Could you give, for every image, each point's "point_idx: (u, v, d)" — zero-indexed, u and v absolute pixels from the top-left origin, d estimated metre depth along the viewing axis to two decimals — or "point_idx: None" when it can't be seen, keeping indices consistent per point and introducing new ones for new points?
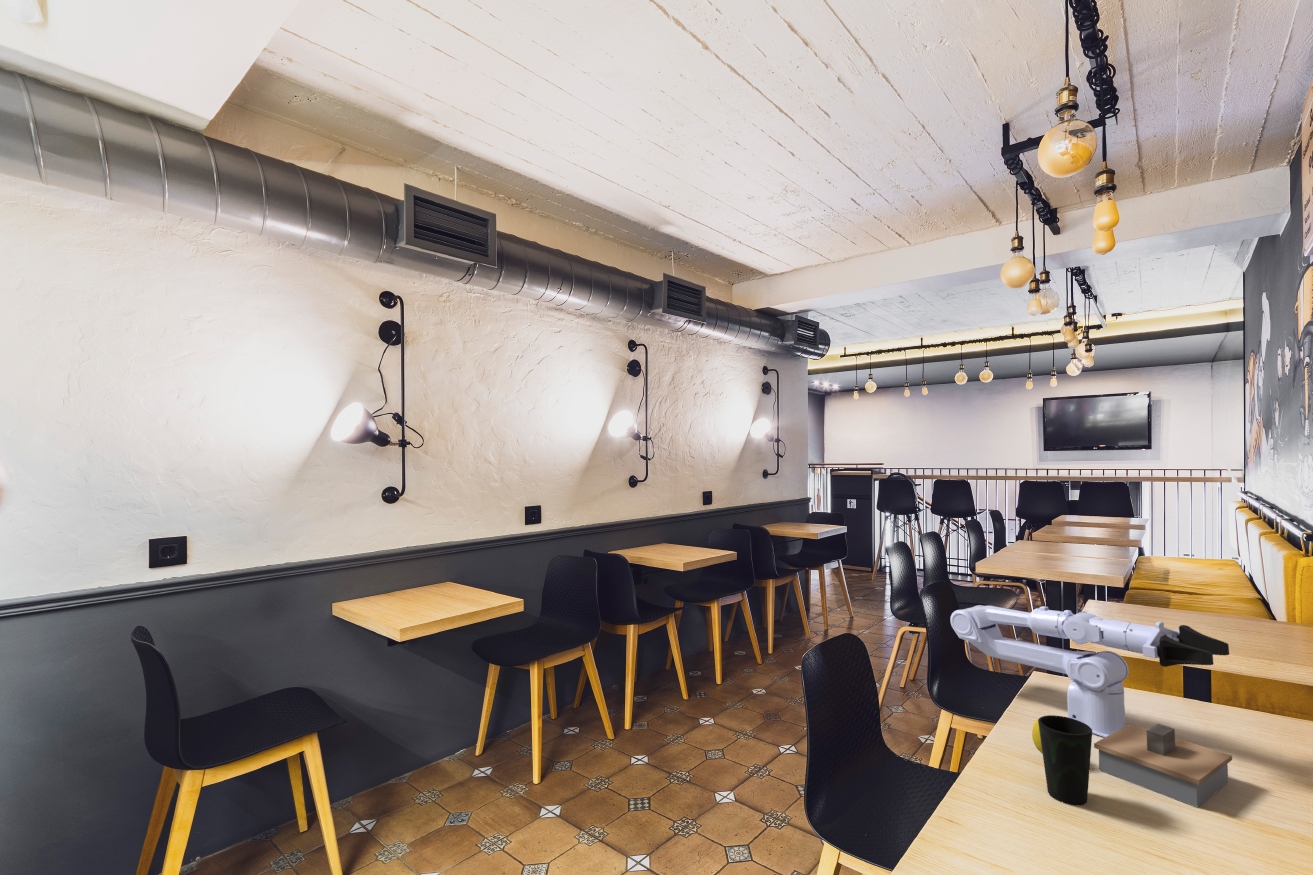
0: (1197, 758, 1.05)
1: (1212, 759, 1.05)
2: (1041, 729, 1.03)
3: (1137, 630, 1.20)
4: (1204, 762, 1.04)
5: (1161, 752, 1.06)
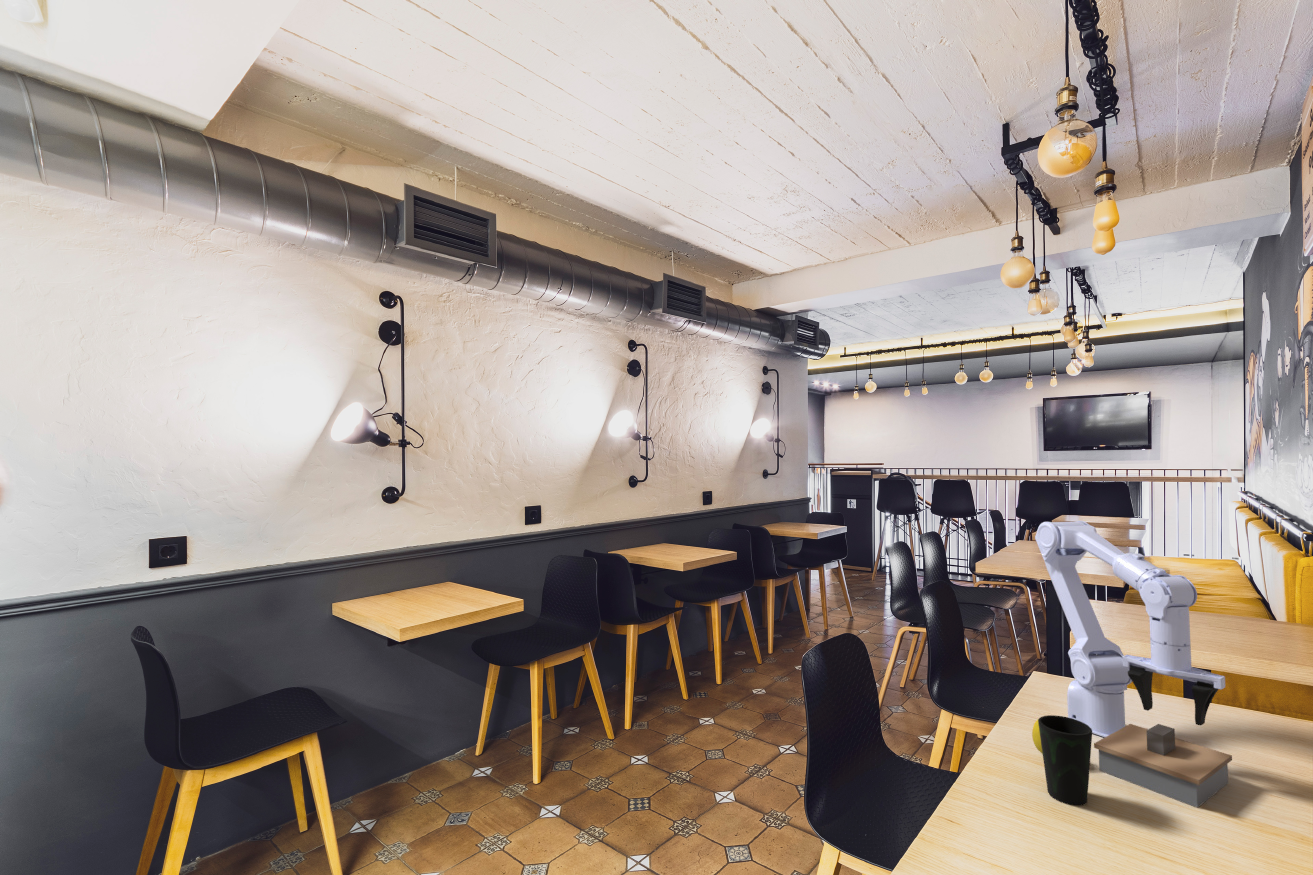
0: (1197, 758, 1.05)
1: (1212, 759, 1.05)
2: (1041, 729, 1.03)
3: (1153, 650, 1.12)
4: (1204, 762, 1.04)
5: (1161, 752, 1.06)
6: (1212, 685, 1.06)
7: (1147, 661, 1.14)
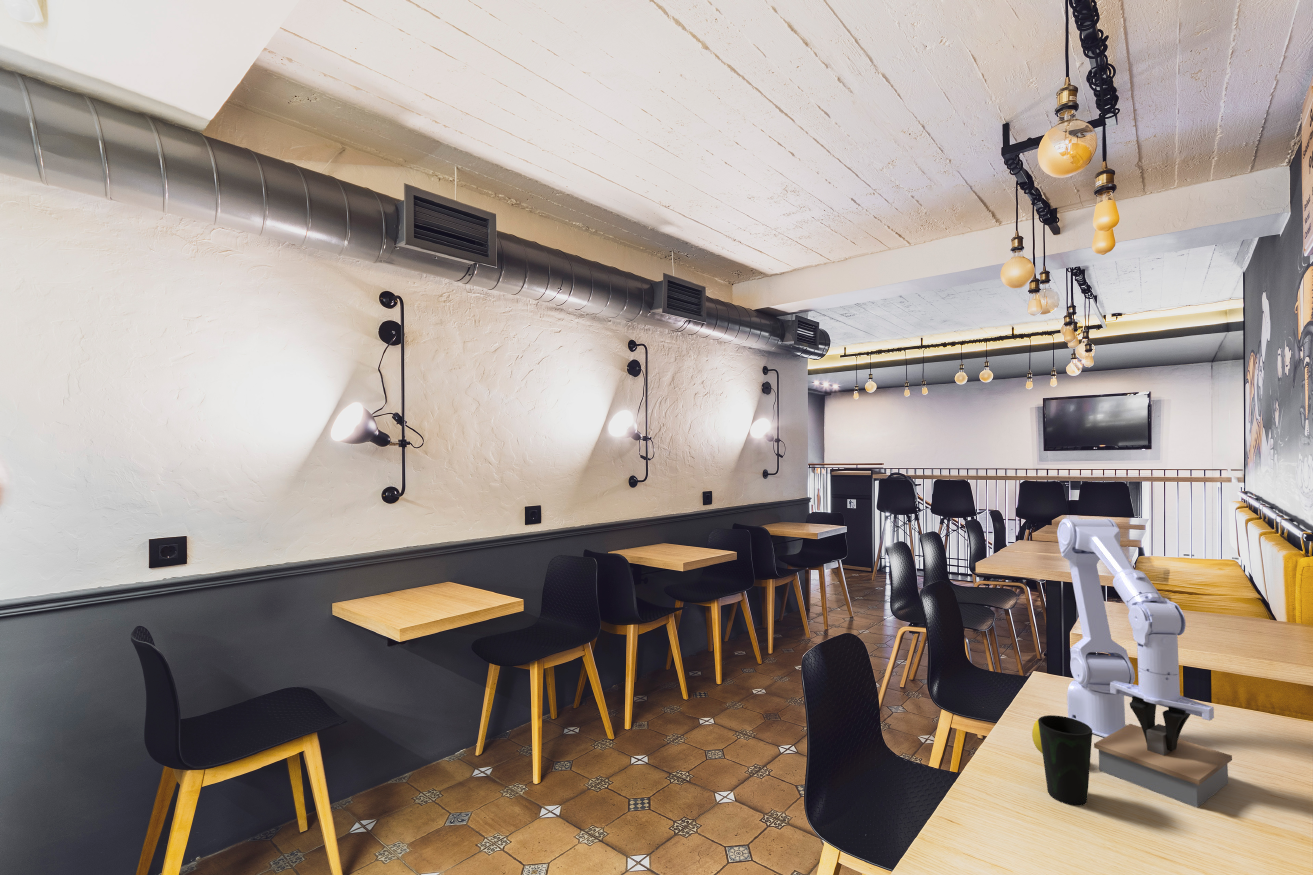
0: (1197, 758, 1.05)
1: (1212, 759, 1.05)
2: (1041, 729, 1.03)
3: (1141, 678, 1.09)
4: (1204, 762, 1.04)
5: (1161, 752, 1.06)
6: (1183, 711, 1.05)
7: (1135, 688, 1.12)
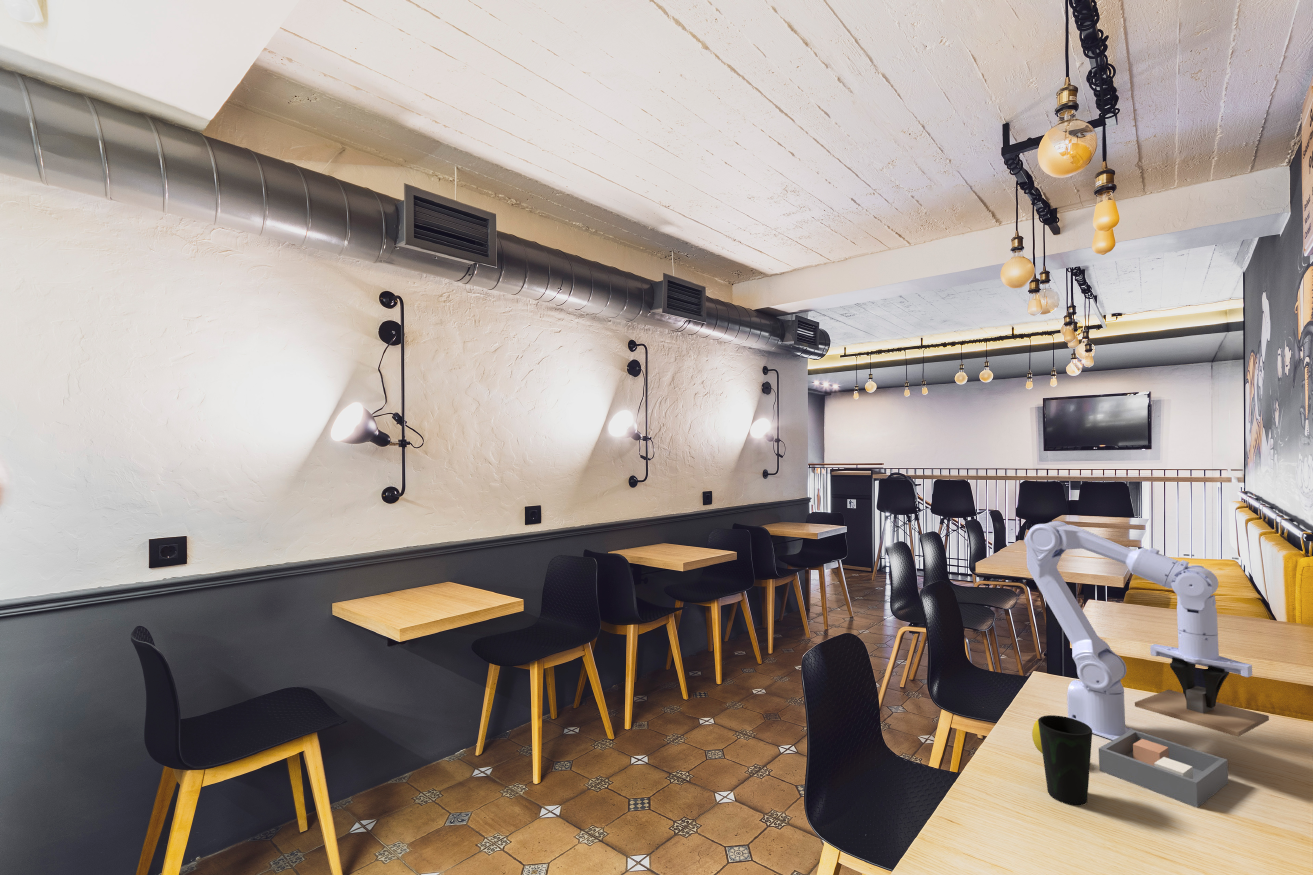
0: (1235, 716, 1.11)
1: (1250, 717, 1.10)
2: (1041, 729, 1.03)
3: (1181, 639, 1.15)
4: (1242, 719, 1.09)
5: (1200, 710, 1.12)
6: (1222, 669, 1.11)
7: (1175, 650, 1.18)
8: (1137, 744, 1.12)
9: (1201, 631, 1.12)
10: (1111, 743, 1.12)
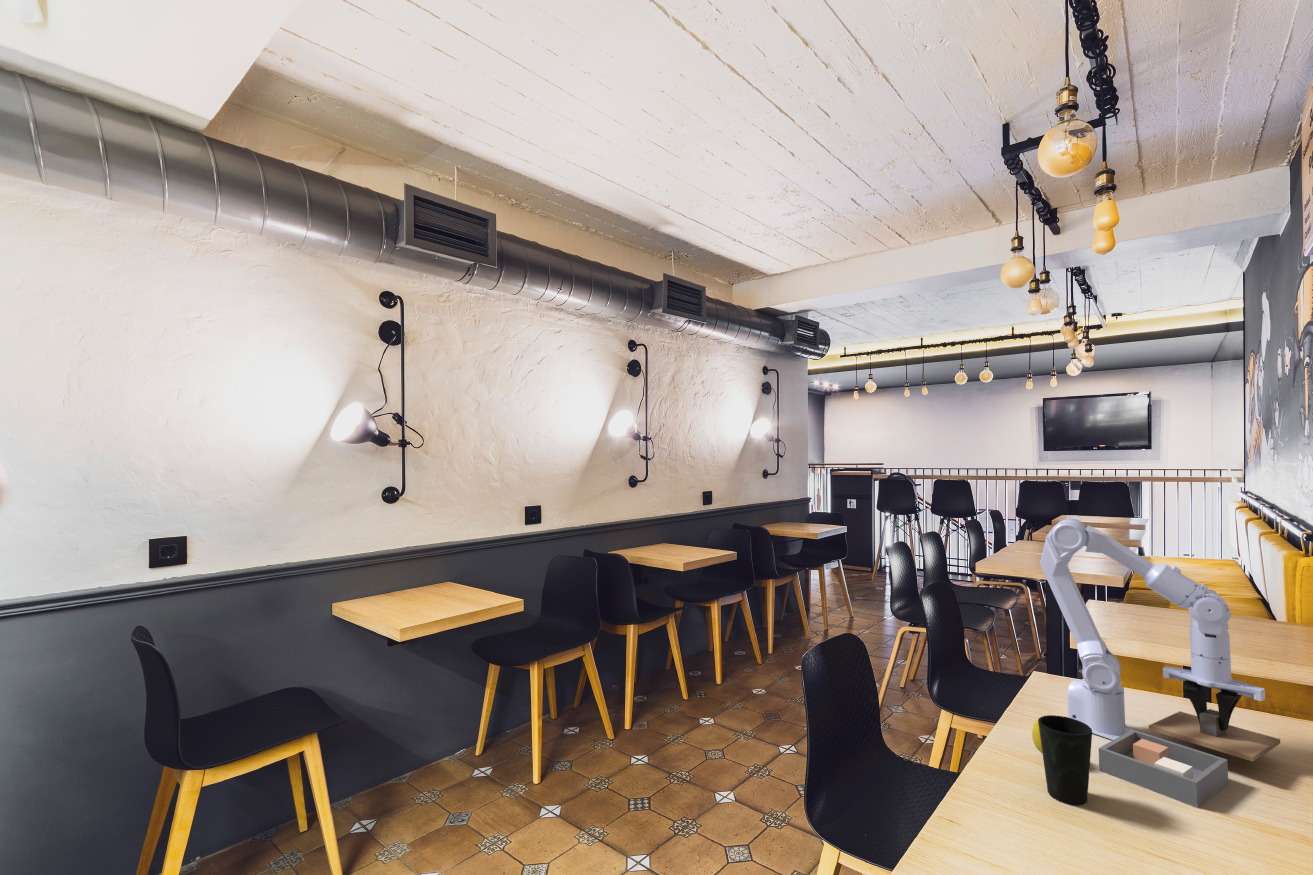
0: (1248, 740, 1.12)
1: (1262, 741, 1.12)
2: (1041, 729, 1.03)
3: (1194, 663, 1.17)
4: (1255, 743, 1.11)
5: (1214, 734, 1.14)
6: (1235, 693, 1.13)
7: (1187, 673, 1.19)
8: (1137, 744, 1.12)
9: (1219, 655, 1.14)
10: (1111, 743, 1.12)
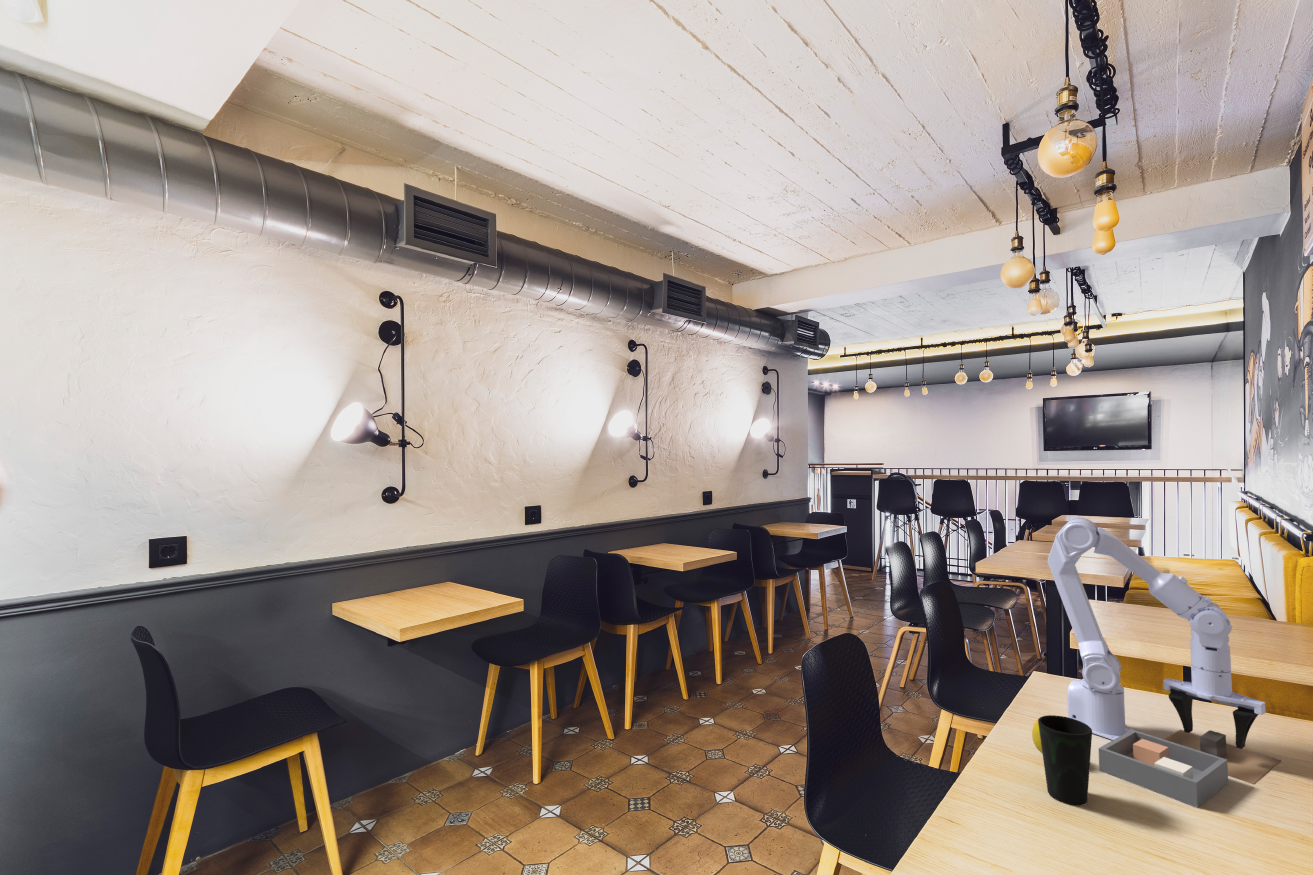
0: (1249, 762, 1.12)
1: (1263, 763, 1.12)
2: (1041, 729, 1.03)
3: (1194, 675, 1.17)
4: (1256, 766, 1.11)
5: None
6: (1253, 710, 1.11)
7: (1188, 685, 1.19)
8: (1137, 744, 1.12)
9: (1219, 668, 1.14)
10: (1111, 743, 1.12)
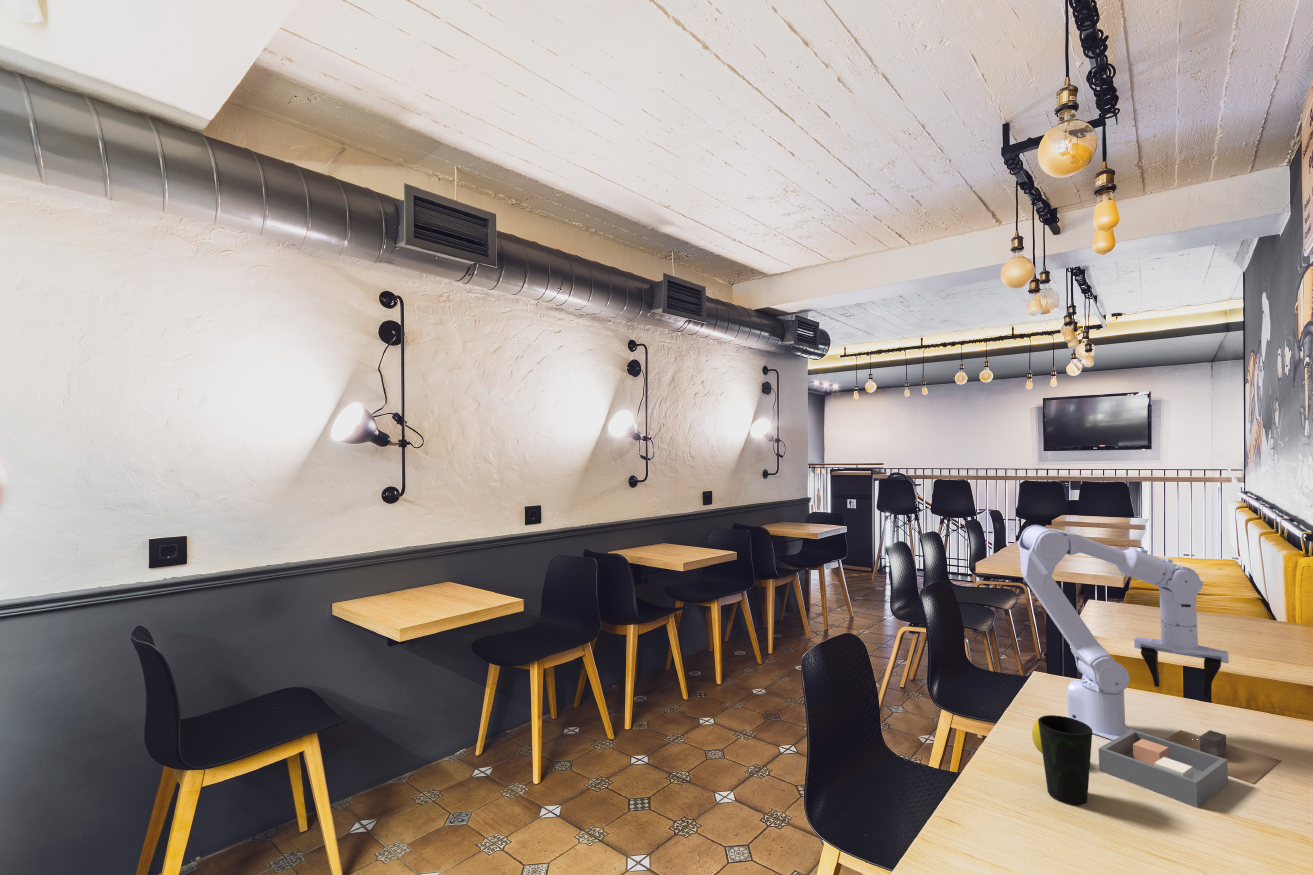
0: (1249, 762, 1.12)
1: (1263, 763, 1.12)
2: (1041, 729, 1.03)
3: (1166, 632, 1.23)
4: (1256, 766, 1.11)
5: None
6: (1219, 660, 1.19)
7: (1157, 642, 1.26)
8: (1137, 744, 1.12)
9: (1192, 623, 1.21)
10: (1111, 743, 1.12)
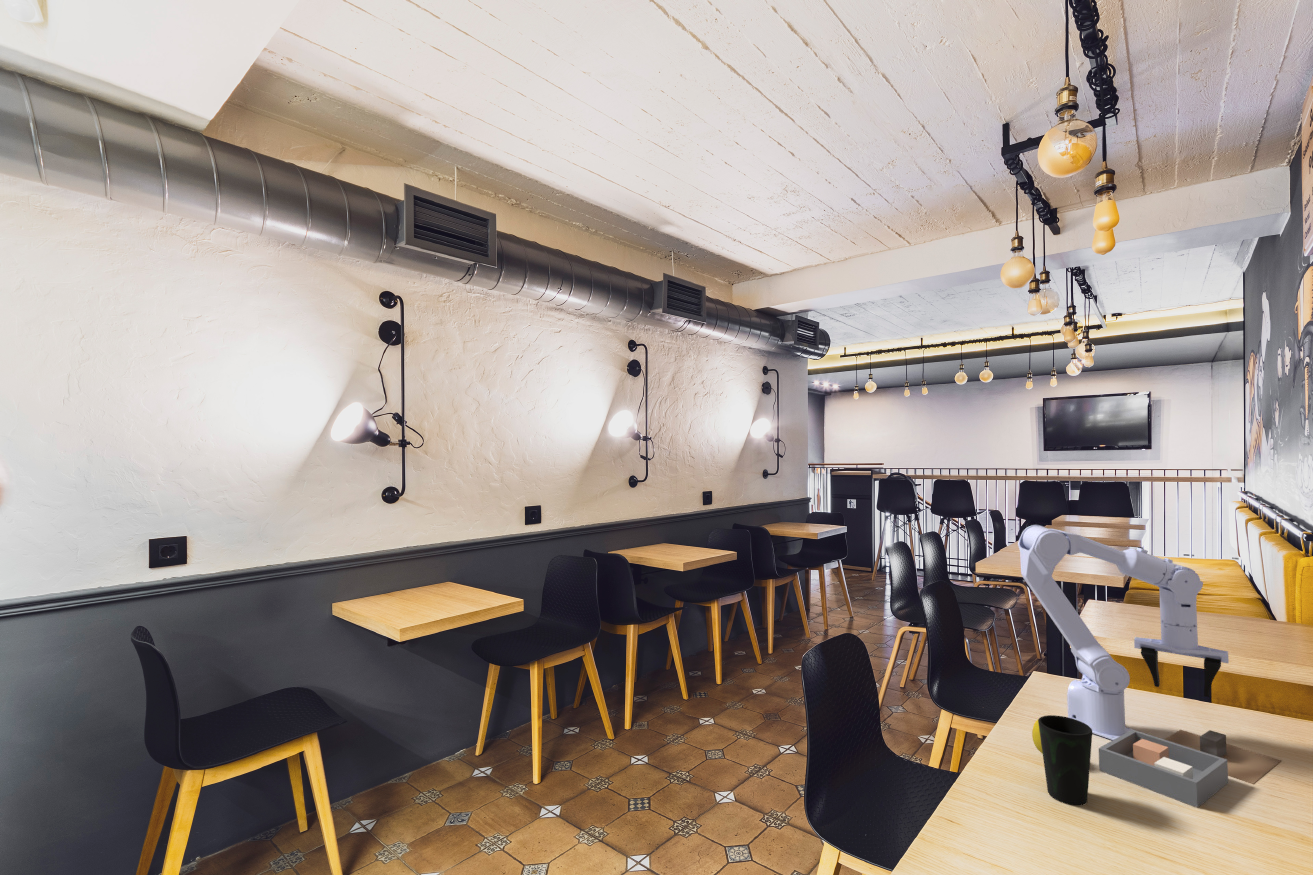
0: (1249, 763, 1.12)
1: (1263, 764, 1.12)
2: (1041, 729, 1.03)
3: (1166, 632, 1.23)
4: (1256, 766, 1.11)
5: None
6: (1219, 660, 1.19)
7: (1157, 642, 1.26)
8: (1137, 744, 1.12)
9: (1192, 623, 1.21)
10: (1111, 743, 1.12)
